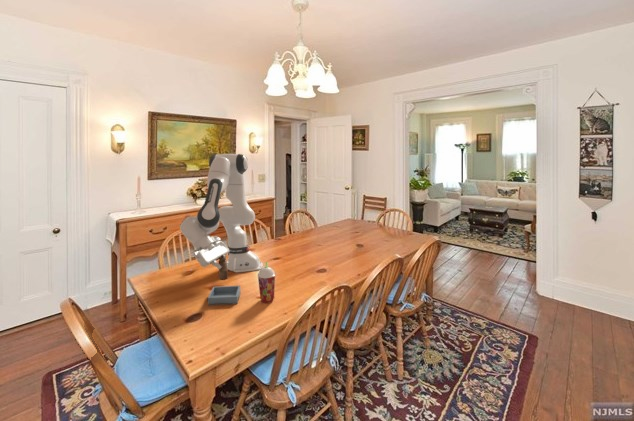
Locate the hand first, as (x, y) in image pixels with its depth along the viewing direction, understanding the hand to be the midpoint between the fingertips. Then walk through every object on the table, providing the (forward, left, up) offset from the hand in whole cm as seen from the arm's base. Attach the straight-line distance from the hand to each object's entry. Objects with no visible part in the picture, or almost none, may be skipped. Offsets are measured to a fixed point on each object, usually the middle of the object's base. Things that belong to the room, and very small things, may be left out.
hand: (224, 266), depth 153 cm
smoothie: (-21, +4, -17) cm, 27 cm away
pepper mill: (+1, 0, -6) cm, 6 cm away
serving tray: (0, 0, -17) cm, 17 cm away
